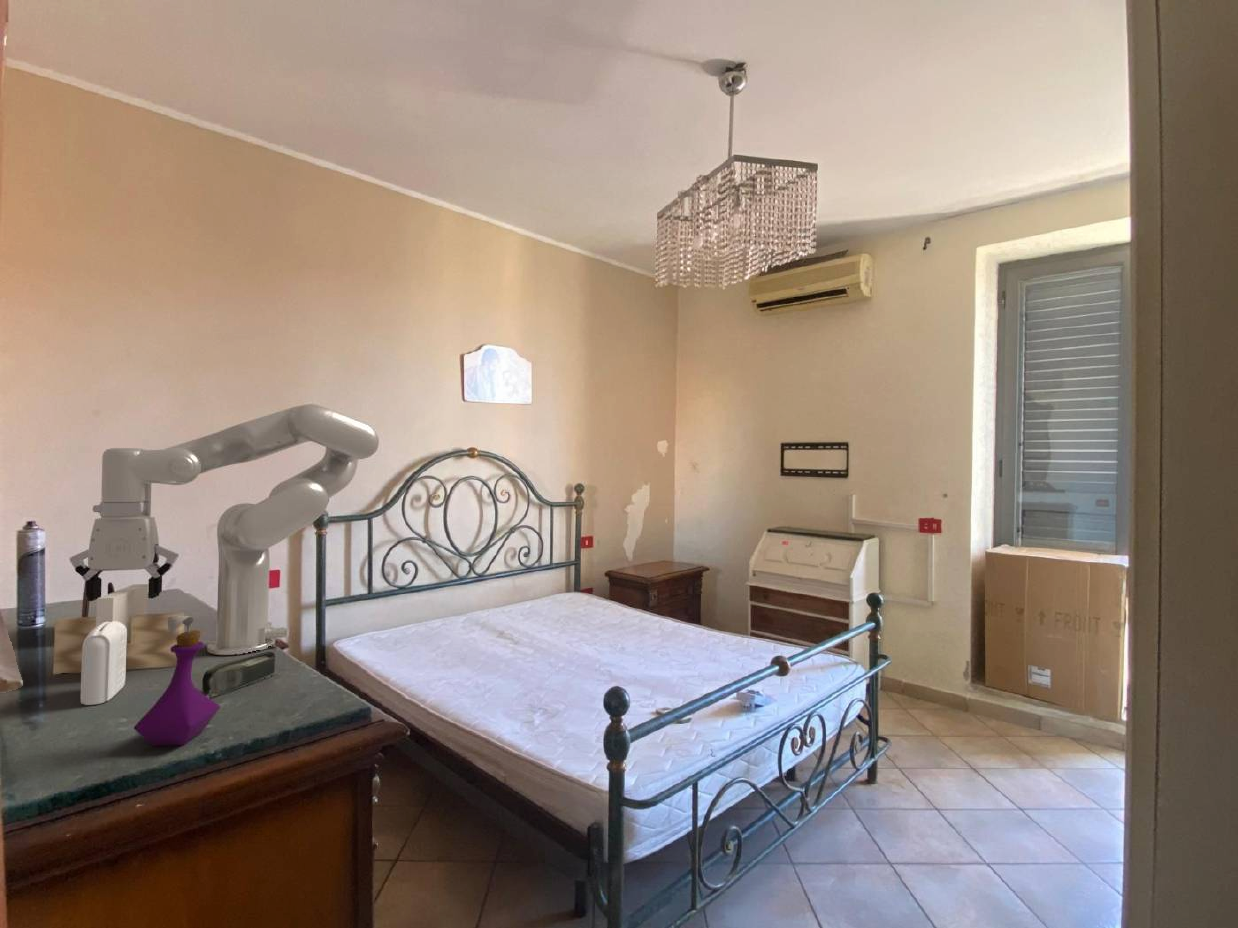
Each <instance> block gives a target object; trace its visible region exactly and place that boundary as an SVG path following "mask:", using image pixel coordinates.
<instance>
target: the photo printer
mask: <svg viewBox="0 0 1238 928" xmlns="http://www.w3.org/2000/svg"><path fill="white" fill-rule="evenodd" d="M126 645H127V629H126V627H125V626H124V625H123V624H122V623H120V622H118V621H112V622H104V623H102V624H100V625H98V626H97V627H95V628H94V629H93V630H92V631H91V632H90V633H89V634H88V635H87V637H86V638H85V640H84V643H83V648H82V672H81V673H80V675H81V676H80V704H81V705H85V706H94V705H101V704H103V703H104V704H105V703H106V702H108V701H110V700H111V699H112V698H113V697H115V695H117V694H118V693H119V691H121V689H123V687H124V686H125V684H126V673H127V672H126V671H127V670H126Z"/></svg>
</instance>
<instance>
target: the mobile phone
mask: <svg viewBox="0 0 1238 928" xmlns="http://www.w3.org/2000/svg"><path fill="white" fill-rule="evenodd" d="M275 663H276V653H274V652H273V651H264V652H261V653H257V654H254V655H248V656H246V657H242V658H237V659H234V660H230V661H227V662H222V663H219V664H217V665H214V667H212V668H210V669H208V670H206V671H205V673H204V674H203V677H202V680H201V681H202V683H201V684H202V692H203V695H205V696H206V697H208V698H209V699H212V698H215V697H218V696H221V695H224V694H228V693H230V692H233V691H235V689H236V690H239V689H241V688H244V687H247V686H250V685H249V684H251V683H253V684H255V683H254V682H256V681H259V680H261V679H262V678H265V677H267V676H269V675H271V674H273V673H274V674H275V671H276V670H275V669H276V664H275ZM259 682H260V681H259ZM256 683H257V682H256ZM246 685H247V686H246ZM251 685H252V684H251ZM238 688H239V689H238Z"/></svg>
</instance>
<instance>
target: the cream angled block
mask: <svg viewBox="0 0 1238 928" xmlns="http://www.w3.org/2000/svg"><path fill="white" fill-rule="evenodd" d="M114 591H115V590H114ZM148 599H149V598H148V583H142V584H139V583H138V584H132V585H128V586H127V587H124V588H120V589H118V590H116V591H115V592H113V593H110V594H108V593H107V594H105V595H103V596H102V595H101V597H100V598H97V599H96V615H95V617H96V627H97V626H98V625H100V624H102V623H104V622H112V621H118V622H120V623H122V624H123V625H124V626H125V627H126V629H127V643H129V642H130V641H131V618H132V617H134V616H136V615H144V614H148Z"/></svg>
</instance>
